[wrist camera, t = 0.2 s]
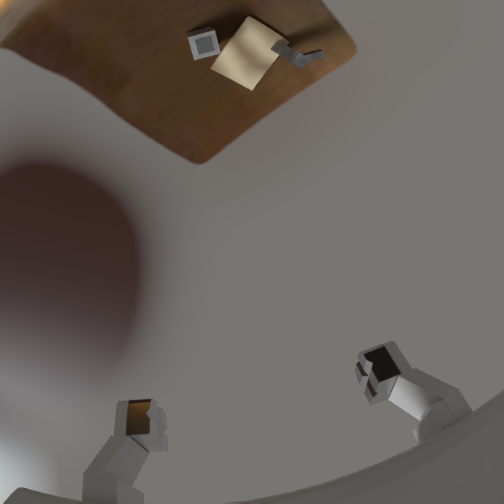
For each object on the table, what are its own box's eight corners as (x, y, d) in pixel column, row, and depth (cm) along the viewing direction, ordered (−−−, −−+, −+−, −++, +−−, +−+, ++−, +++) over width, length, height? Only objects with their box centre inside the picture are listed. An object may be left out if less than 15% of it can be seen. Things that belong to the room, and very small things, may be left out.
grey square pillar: (186, 32, 39) (188, 37, 34) (209, 26, 39) (215, 30, 34) (191, 52, 42) (194, 61, 37) (214, 45, 42) (221, 53, 37)
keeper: (252, 10, 38) (272, 14, 30) (299, 41, 44) (327, 54, 36) (210, 67, 45) (219, 85, 38) (258, 93, 51) (276, 116, 44)
